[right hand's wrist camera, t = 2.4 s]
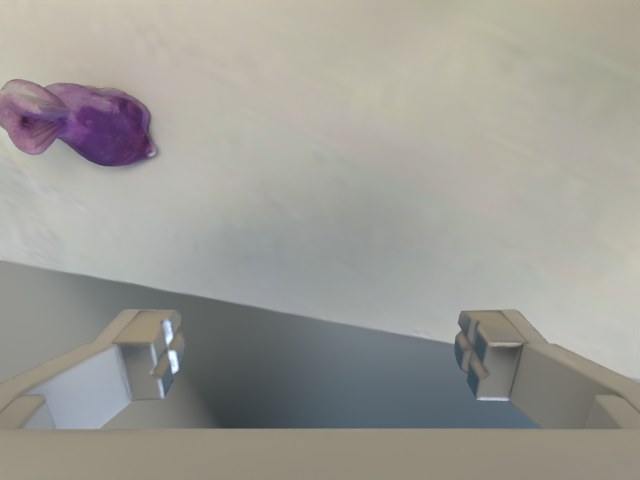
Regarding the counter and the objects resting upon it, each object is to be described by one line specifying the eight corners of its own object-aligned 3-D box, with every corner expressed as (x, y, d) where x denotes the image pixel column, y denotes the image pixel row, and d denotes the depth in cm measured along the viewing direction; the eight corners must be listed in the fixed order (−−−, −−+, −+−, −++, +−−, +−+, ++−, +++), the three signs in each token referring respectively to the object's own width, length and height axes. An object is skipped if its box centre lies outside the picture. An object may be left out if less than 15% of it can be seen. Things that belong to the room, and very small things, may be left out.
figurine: (53, 89, 41) (-84, 85, 27) (137, 71, 40) (41, 57, 26) (87, 170, 44) (-19, 203, 31) (166, 154, 44) (94, 181, 30)
